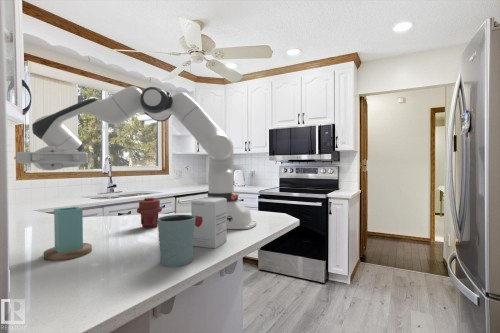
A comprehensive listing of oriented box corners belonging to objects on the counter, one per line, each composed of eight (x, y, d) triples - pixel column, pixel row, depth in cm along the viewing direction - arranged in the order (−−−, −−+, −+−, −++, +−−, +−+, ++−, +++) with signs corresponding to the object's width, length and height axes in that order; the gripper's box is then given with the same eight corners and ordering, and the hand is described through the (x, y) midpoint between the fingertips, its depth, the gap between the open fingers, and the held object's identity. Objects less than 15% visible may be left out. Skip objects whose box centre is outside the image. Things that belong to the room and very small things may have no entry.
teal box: (77, 244, 85) (77, 206, 85) (83, 248, 81) (82, 208, 81) (54, 248, 81) (54, 209, 81) (58, 253, 77) (58, 211, 77)
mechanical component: (144, 224, 121) (165, 224, 120) (132, 229, 111) (155, 230, 110) (144, 196, 120) (165, 196, 119) (132, 199, 111) (155, 199, 110)
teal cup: (155, 269, 68) (154, 222, 68) (160, 256, 78) (159, 214, 78) (195, 266, 70) (195, 220, 70) (196, 253, 80) (195, 213, 80)
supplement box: (190, 246, 88) (190, 200, 87) (204, 238, 96) (203, 196, 96) (215, 249, 84) (215, 201, 84) (227, 241, 93) (227, 197, 93)
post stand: (100, 249, 85) (100, 222, 85) (65, 262, 74) (65, 231, 74) (71, 246, 88) (70, 220, 88) (33, 258, 77) (32, 229, 77)
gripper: (13, 149, 92) (17, 146, 82) (82, 150, 106) (92, 148, 96) (13, 167, 92) (17, 167, 82) (82, 166, 106) (92, 166, 96)
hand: (58, 157), depth 89 cm, fingers open, 8 cm apart
